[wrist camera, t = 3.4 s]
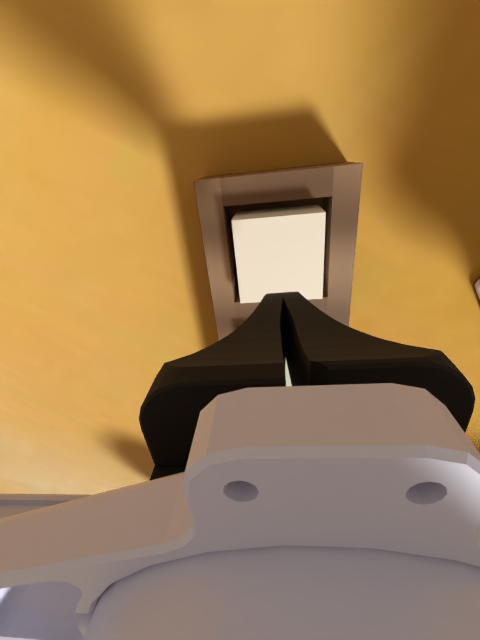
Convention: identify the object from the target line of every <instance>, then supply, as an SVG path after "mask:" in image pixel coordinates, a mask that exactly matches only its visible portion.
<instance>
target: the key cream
mask: <svg viewBox="0 0 480 640" xmlns="http://www.w3.org/2000/svg"><path fill="white" fill-rule="evenodd" d="M325 220H326V212H325V211H324V210H323V209H322V208H321V207H320V206H319V205H308V206H297V207H286V208H275V209H264V210H253V211H242V212H236V213H235V215H234V217H233V218H232V220H231V221H232V230H233V240H234V249H235V258H236V267H237V277H238V286H239V295H240V303H256V302H261V300H262V299H263V297H264V296H265V295H266V294H269V293H283V292H297V291H298V292H299V293H300V294H301V295H303V296H304V297H305V298H306V299H307V300H310V299H323V273H324V246H325Z"/></svg>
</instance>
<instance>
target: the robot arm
mask: <svg viewBox="0 0 480 640" xmlns="http://www.w3.org/2000/svg"><path fill="white" fill-rule="evenodd" d="M475 289H476V292H477V294H478V297H479V299H480V279H479V280H478V281H477V282H476V284H475ZM286 361H287V366H288V371H289V375H290V380H291V384H292V386H286V376H285V363H286ZM474 403H475V396H474V392H473V388H472V386H471V384H470V383H469V382H468V380H467V379H466V378H465V376H464V375H463V374H462V373H461V372H460V371H459V370H458V368H457V367H456V366H455V365H454V364H453V363H452V362H451V361H450V360H449V359H448V357H447V356H446V355H445V354H444V353H443V352H441V351H439V350H433V349H427V348H421V347H415V346H409V345H404V344H400V343H396V342H392V341H388V340H384V339H381V338H377V337H374V336H371V335H368V334H366V333H363V332H360V331H357V330H355V329H353V328H350V327H348V326H346V325H344V324H342V323H340V322H338V321H337V320H335V319H333V318H331V317H330V316H328V315H327V314H325V313H324V312H322V311H321V310H319V309H318V308H317V307H315V306H314V305H313V304H312V303H311V302H309V301H308V300H307V299H306V298H305V297H304V296H303V295H301V294H300V293H299V292H298V291H297V292H283V293H269V294H266V295H265V296H264V297H263V299H262V300H261V302H260V303H259V305H258V306H257V307H256V309H255V310H254V311H253V313H252V314H251V315H250V316H249V317H248V318H247V319H246V320H245V321H244V323H243V324H242V325H240V326H239V327H238V328H237V329H236V330H234V331H233V332H232V333H230V334H229V335H228V336H226V337H224V338H223V339H221V340H219V341H218V342H216V343H215V344H213V345H211V346H209V347H207V348H205V349H203V350H200V351H198V352H196V353H193V354H191V355H188V356H185V357H182V358H179V359H176V360H173V361H170V362H166V363H164V365H163V366H162V368H161V370H160V371H159V373H158V374H157V376H156V378H155V380H154V382H153V384H152V386H151V388H150V390H149V392H148V394H147V396H146V398H145V400H144V402H143V404H142V406H141V409H140V415H139V421H140V426H141V430H142V433H143V435H144V438H145V440H146V443H147V446H148V448H149V451H150V453H151V456H152V459H153V461H154V464H155V467H154V470H153V473H152V475H151V478H150V481H146V482H142V483H138V484H135V485H131V486H127V487H123V488H119V489H115V490H111V491H107V492H103V493H99V494H95V495H66V494H0V640H480V453H479V452H478V451H477V449H476V448H475V446H474V445H473V444H472V442H471V441H470V439H469V438H468V437H467V435H466V434H465V432H466V429H467V426H468V424H469V421H470V418H471V415H472V413H473V409H474Z"/></svg>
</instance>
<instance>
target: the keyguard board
mask: <svg viewBox="0 0 480 640" xmlns="http://www.w3.org/2000/svg"><path fill="white" fill-rule="evenodd" d="M362 167H363V163H354V162H342V163H332V164H323V165H314V166H304V167H295V168H285V169H276V170H267V171H257V172H248V173H238V174H229V175H220V176H210V177H204V178H201V179H198V180H195V181H194V187H195V193H196V200H197V206H198V212H199V219H200V225H201V231H202V238H203V244H204V250H205V257H206V263H207V269H208V276H209V282H210V288H211V295H212V301H213V308H214V314H215V320H216V327H217V333H218V339H219V340H221V339H223V338H224V337H226V336H228V335H229V334H230V333H232V332H233V331H234V330H236V329H237V328H238V327H239V326H240V325H242V324H243V323H244V321H245V320H246V319H247V318H248V317H249V316H250V315H251V314H252V313H253V311H254V310H255V309H256V307H257V306H258V305H259V303H260V302H256V303H240V295H239V286H238V277H237V267H236V258H235V249H234V240H233V230H232V221H231V220H232V218H233V217H234V215H235V213H236V212H242V211H253V210H264V209H275V208H286V207H297V206H308V205H319V206H320V207H321V208H322V209H323V210H324V211H325V212H326V220H325V246H324V273H323V299H310V300H308V301H309V302H311V303H312V304H313V305H314V306H315V307H317V308H318V309H319V310H321V311H322V312H324V313H325V314H327V315H328V316H330V317H331V318H333V319H335V320H337V321H338V322H340V323H342V324H344V325H346V326H349V315H350V303H351V292H352V281H353V269H354V258H355V247H356V235H357V224H358V213H359V201H360V190H361V179H362Z"/></svg>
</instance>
